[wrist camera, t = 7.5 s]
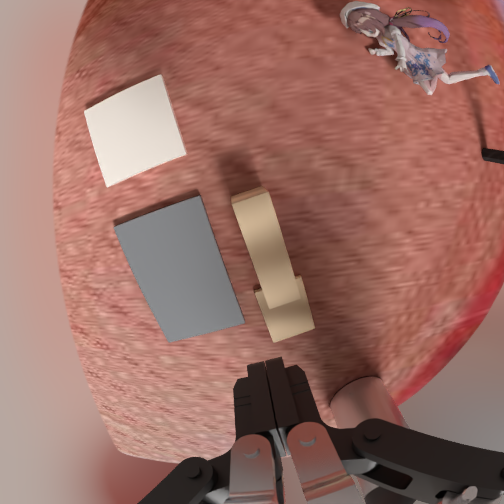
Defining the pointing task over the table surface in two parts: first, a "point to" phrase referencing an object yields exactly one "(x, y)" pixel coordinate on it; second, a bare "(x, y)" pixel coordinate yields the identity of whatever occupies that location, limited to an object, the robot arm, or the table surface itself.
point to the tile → (135, 130)
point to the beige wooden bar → (272, 266)
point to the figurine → (407, 44)
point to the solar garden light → (493, 155)
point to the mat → (180, 270)
